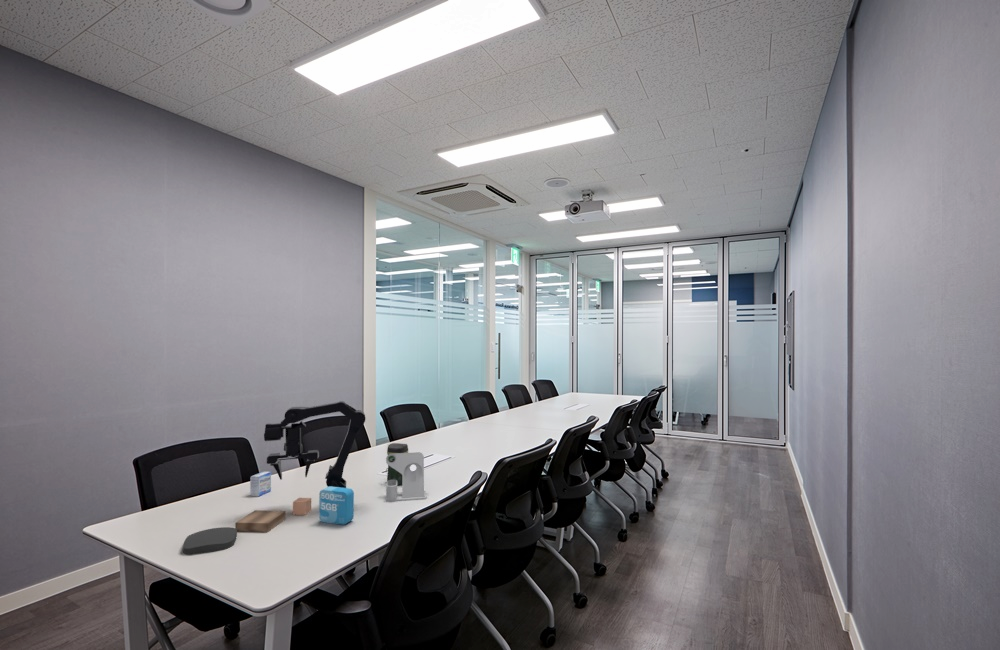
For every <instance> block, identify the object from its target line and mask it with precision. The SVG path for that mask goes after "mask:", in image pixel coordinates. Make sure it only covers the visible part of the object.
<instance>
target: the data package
mask: <svg viewBox="0 0 1000 650" xmlns="http://www.w3.org/2000/svg"><path fill="white" fill-rule="evenodd" d="M318 495H319V497H318V498H319V501H318V503H319V505H318V513H319V514H318V519H319V521H320V522H321V523H326V524H334V525H343V526H345V525H346V524H348V523H350V522H351V521H353V520H354V511H355V510H354V507H355V505H354V504H355V503H354V502H355V501H354V500H355V499H354V498H355V491H354V490H353V488H350V487H346V488H341V487H331V486H329V487H328V486H327V487H325V488H323V489H321V490H320V491H319V494H318Z"/></svg>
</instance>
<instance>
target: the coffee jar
mask: <svg viewBox="0 0 1000 650" xmlns="http://www.w3.org/2000/svg"><path fill="white" fill-rule="evenodd" d="M386 453H387V454H386V455H387V456H388V455H389V454H395V453H409V445H408V444H407V443H395V442H394V443H393V442H392V443H390V444H387V449H386ZM394 460H395V457H394V456H390V457H389V458H388V461H389V462H394ZM388 480H397V486H401V485H402V474H401V473H399V472H398V471H396V470H395V469H393V468H392V467H390V466H389V465H388V466H387V474H386V482H387V481H388Z"/></svg>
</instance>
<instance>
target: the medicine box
mask: <svg viewBox="0 0 1000 650" xmlns="http://www.w3.org/2000/svg"><path fill="white" fill-rule="evenodd" d="M249 480H250V484H249V485H250V486H249V495H250V497H261V496H263V494H264V495H266V494H267V493H270V492H271V490H272V472H271V471H261V472H259V473H256V474H254V475H251V476H250V479H249Z"/></svg>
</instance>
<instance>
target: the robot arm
mask: <svg viewBox="0 0 1000 650" xmlns="http://www.w3.org/2000/svg"><path fill="white" fill-rule="evenodd" d="M334 413H341V414H342V415H344V416H345V417H346V418H348V419H349V423H348V430H347V433H346V435H345V438H344V440H343V443H342V446H341V449H340V450H339V453H338V456H337V458H336V461H335V462H334V464H333V465H329V467H328V471H327V472H326V473H325V480H326V481H325V483H326V486H327V487H329V486H331V487H341V488H347V481H346V479H344V478H343V474H344V468H345V464H346V462H347V460H348V458H349V454H350V452H351V449H352V447H353V445H354V442H355V440H356V437H357V435H358V433H359V431H361V429H362V427H363V425H364V424H365V422H366V414H365V412H364V411H363V410H360V409H356V408H354V407H352V406H350V405H349V404H347V403H346V402H345V401H343V400H340V401H336V402H331V403H324V404H320V405H319V404H318V405H315V406H314V405H313V406H291V407H289V408H288V409H287V410H286V411H285V413H284V418H283V420H281V421H280V423H265V426H264V427H265V428H264V433H263V439H264V440H263V441H264V442H274V441H281V440H282V438H284V437H285V442H284V444H283V451H284V452H285V454H282V455H281V454H280V452H275V453H270V454H269V455H268V456H267V457H266V464H267V465H269V464H270V466H271V467H272V466H273V468H274V469H275V471H276V473H277V475H278V477H279V479H280V481H281V480H283V473H282V461H285V460H286V461H287V460H296V459H306V463H305V471H304V473H305V474H304V476H305V478H307V477H308V473H309V471H310V468H311V465H312V463H314V462H315V461H317V460H318V459H319V457H320V451H319V450H318V449H313V450H307V452H305V453H304V452H303V444H302V428H306V427H307V424H306V423H304V422H303V421H304V420H306V419H308V418H311V417H317V416H322V415H328V414H334ZM289 424H291V425H289Z"/></svg>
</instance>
